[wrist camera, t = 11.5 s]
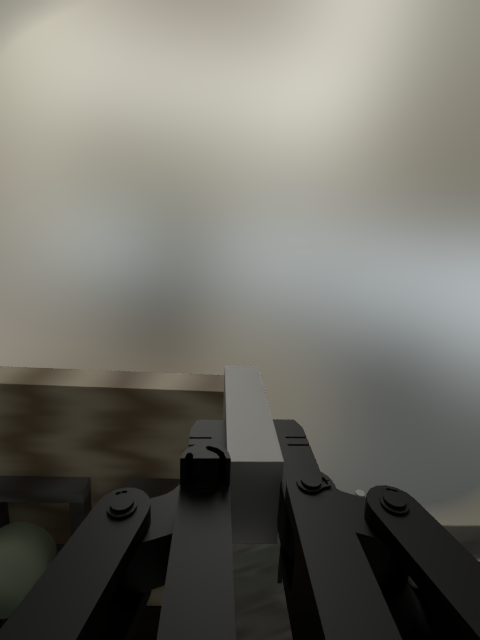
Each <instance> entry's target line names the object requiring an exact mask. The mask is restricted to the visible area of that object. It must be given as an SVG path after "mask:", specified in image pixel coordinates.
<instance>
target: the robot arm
mask: <svg viewBox="0 0 480 640" xmlns="http://www.w3.org/2000/svg"><path fill="white" fill-rule="evenodd" d="M224 372H225V373H224V400H223V420H197V421H196V423H195V424H194V425H193V426H192V427H191V431H190V439H189V445H188V449H186V450H185V451H184V452H183V453H182V455H181V457H180V484H179V486H177V487H176V488H175V489H174V490H172V491H171V492H169V493H167V494H164V495H161V496H158V497H154V498H150V499H149V496H148V495H147V494H146V493H145V492H144V491H143V490H140V489H137V488H121V489H117V490H114V491H112V492H110V493H108V494H106V495H105V496H104V497H103V498H101V499H100V500H99V501H98V502H97V504H96V505H95V506H94V508H93V509H92V510H91V511H90V513H89V514H88V515H87V517H86V518H85V519H84V521H83V522H82V523H81V524H80V526H79V527H78V528H77V530H76V531H75V532H74V534H73V535H72V536H71V537H70V539H69V540H68V541H67V543H66V544H65V545H64V547H63V548H62V549H61V551H60V552H59V553H58V554H57V556H56V557H55V558H54V560H53V561H52V562H51V564H50V565H49V566H48V567H47V569H46V570H45V571H44V573H43V574H42V575H41V577H40V578H39V579H38V580H37V582H36V583H35V584H34V586H33V587H32V588H31V590H30V591H29V592H28V594H27V595H26V596H25V597H24V599H23V600H22V601H21V603H20V604H19V605H18V607H17V608H16V609H15V610H14V612H13V613H12V614H11V616H10V617H9V618H8V620H7V621H6V622H5V623H4V625H3V626H2V627H1V629H0V640H132V638H133V635H134V633H135V631H136V628H137V626H138V623H139V621H140V619H141V616H142V614H143V612H144V609H145V607H146V605H147V602H148V600H149V598H150V595H151V591H152V590H153V589H156V588H159V587H162V586H164V585H165V587H164V594H163V601H162V607H161V614H160V620H159V627H158V633H157V640H236V628H235V603H234V578H233V553H232V544H277V535H278V533H279V538H280V543H281V546H280V557H279V568H278V583H282V579H283V584H284V590H285V596H286V602H287V608H288V613H289V619H290V625H291V631H292V636H293V640H480V562H478V561H477V560H476V559H475V558H474V557H473V556H472V555H471V554H470V553H469V552H468V551H467V550H466V549H465V548H464V547H463V546H462V545H461V544H460V543H459V542H458V541H457V540H456V539H455V538H454V537H453V536H452V535H451V534H450V533H449V532H448V531H447V530H446V529H445V528H444V527H443V526H442V525H441V524H440V523H439V522H438V521H437V520H436V519H435V518H434V517H432V516H431V515H430V514H429V513H428V512H427V511H426V510H425V509H424V508H423V507H422V506H421V505H420V504H419V503H418V502H417V501H416V500H415V499H414V498H413V497H411V496H410V495H409V494H407V493H406V492H404V491H402V490H400V489H398V488H394V487H390V486H386V485H385V486H375V487H373V488H371V489H370V490H369V491H368V493H367V495H366V498H365V497H360V496H356V495H352V494H348V493H345V492H342V491H340V490H338V489H336V487H335V485H334V483H333V482H332V480H331V479H330V478H329V477H328V476H326V475H325V474H324V473H322V472H320V470H319V467H318V464H317V462H316V459H315V457H314V455H313V452H312V450H311V447H310V446H309V442H308V440H307V438H306V435H305V432H304V430H303V428H302V427H301V426H300V425H299V424H298V423H297V422H296V421H295V420H273V419H272V415H271V412H270V408H269V404H268V401H267V397H266V393H265V389H264V386H263V382H262V379H261V375H260V371H259V368H258V366H230V365H228V366H227V365H226V366H225V371H224Z"/></svg>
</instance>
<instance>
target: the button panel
mask: <svg viewBox="0 0 480 640" xmlns="http://www.w3.org/2000/svg"><path fill="white" fill-rule="evenodd" d="M223 400H224V375H201V374H177V373H151V372H127V371H102V370H101V371H100V370H77V369H53V368H27V367H2V366H0V528H1V527H3V526H5V525H7V524H11V523H15V522H27V523H32V524H35V525H38V526H40V527H42V528H43V529H45V530H46V531H47V532H49V533H50V535H51V536H52V537H53V539H54V541H55V543H56V547H57V553H56V556H57V554H58V553H59V552H60V551H61V549H62V548H63V547H64V545H65V544H66V543H67V541H68V540H69V539H70V537H71V536H72V535H73V534H74V532H75V531H76V530H77V528H78V527H79V526H80V524H81V523H82V522H83V521H84V519H85V518H86V517H87V515H88V514H89V513H90V511H91V510H92V509H93V508H94V506H95V505H96V504H97V502H98V501H99V500H100V499H101V498H103V497H104V496H105V495H106V494H108V493H110V492H112V491H114V490H117V489H121V488H137V489H140V490H143V491H144V492H145V493H146V494H147V495H148V496H149V499H150V498H154V497H158V496H161V495H164V494H167V493H169V492H171V491H172V490H174V489H175V488H176V487H177V486H179V484H180V457H181V455H182V453H183V452H184V451H185V450H186V449H188V445H189V439H190V431H191V427H192V426H193V425H194V424H195V423H196V421H197V420H223ZM164 587H165V585H164V586H162V587H159V588H156V589H153V590H152V591H151V595H150V598H149V600H148V602H147V605H146V606H162V601H163V594H164Z"/></svg>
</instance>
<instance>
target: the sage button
mask: <svg viewBox="0 0 480 640" xmlns="http://www.w3.org/2000/svg"><path fill="white" fill-rule="evenodd" d="M56 553H57V547H56V543H55V541H54V539H53V537H52V536H51V535H50V533H49V532H47V531H46V530H45V529H43V528H42V527H40V526H38V525H35V524H32V523H27V522H15V523H11V524H7V525H5V526H3V527H1V528H0V619H7V618H9V617H10V616H11V614H12V613H13V612H14V610H15V609H16V608H17V607H18V605H19V604H20V603H21V601H22V600H23V599H24V597H25V596H26V595H27V594H28V592H29V591H30V590H31V588H32V587H33V586H34V584H35V583H36V582H37V580H38V579H39V578H40V577H41V575H42V574H43V573H44V571H45V570H46V569H47V567H48V566H49V565H50V564H51V562H52V561H53V560H54V558H55V557H56Z"/></svg>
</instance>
